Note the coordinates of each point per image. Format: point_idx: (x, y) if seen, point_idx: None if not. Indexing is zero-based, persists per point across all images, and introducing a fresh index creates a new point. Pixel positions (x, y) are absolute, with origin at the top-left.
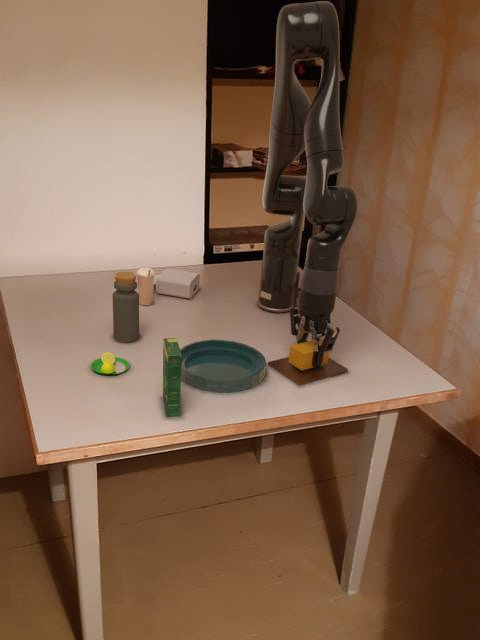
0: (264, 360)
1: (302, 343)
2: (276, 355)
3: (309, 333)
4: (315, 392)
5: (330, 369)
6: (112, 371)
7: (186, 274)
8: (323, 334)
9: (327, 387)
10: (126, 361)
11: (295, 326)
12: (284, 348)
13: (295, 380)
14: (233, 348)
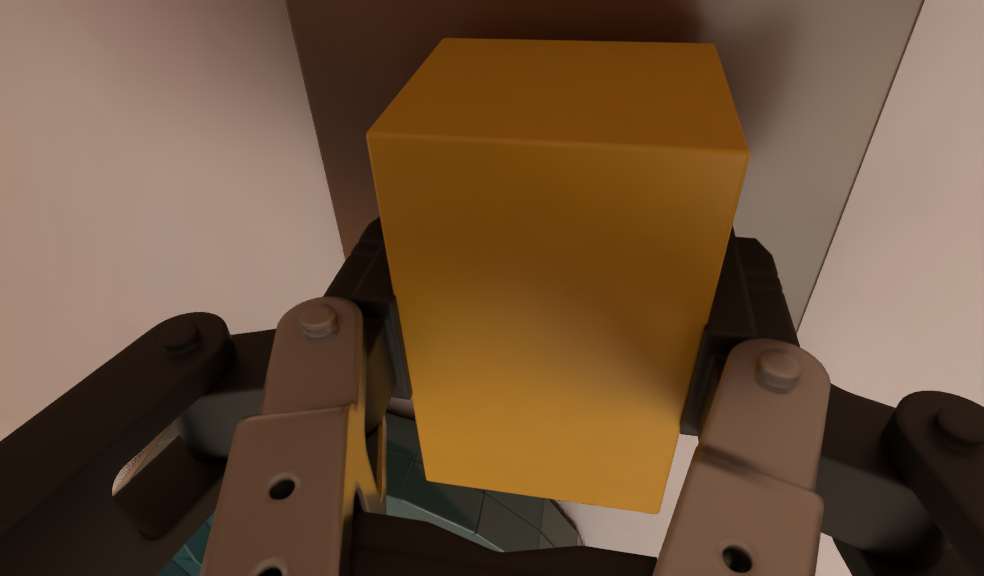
0: (444, 524)
1: (426, 376)
2: (249, 232)
3: (358, 390)
4: (909, 390)
5: (796, 49)
6: None
7: None
8: (734, 566)
9: (955, 274)
10: None
11: (185, 521)
12: (119, 83)
13: None
14: None
